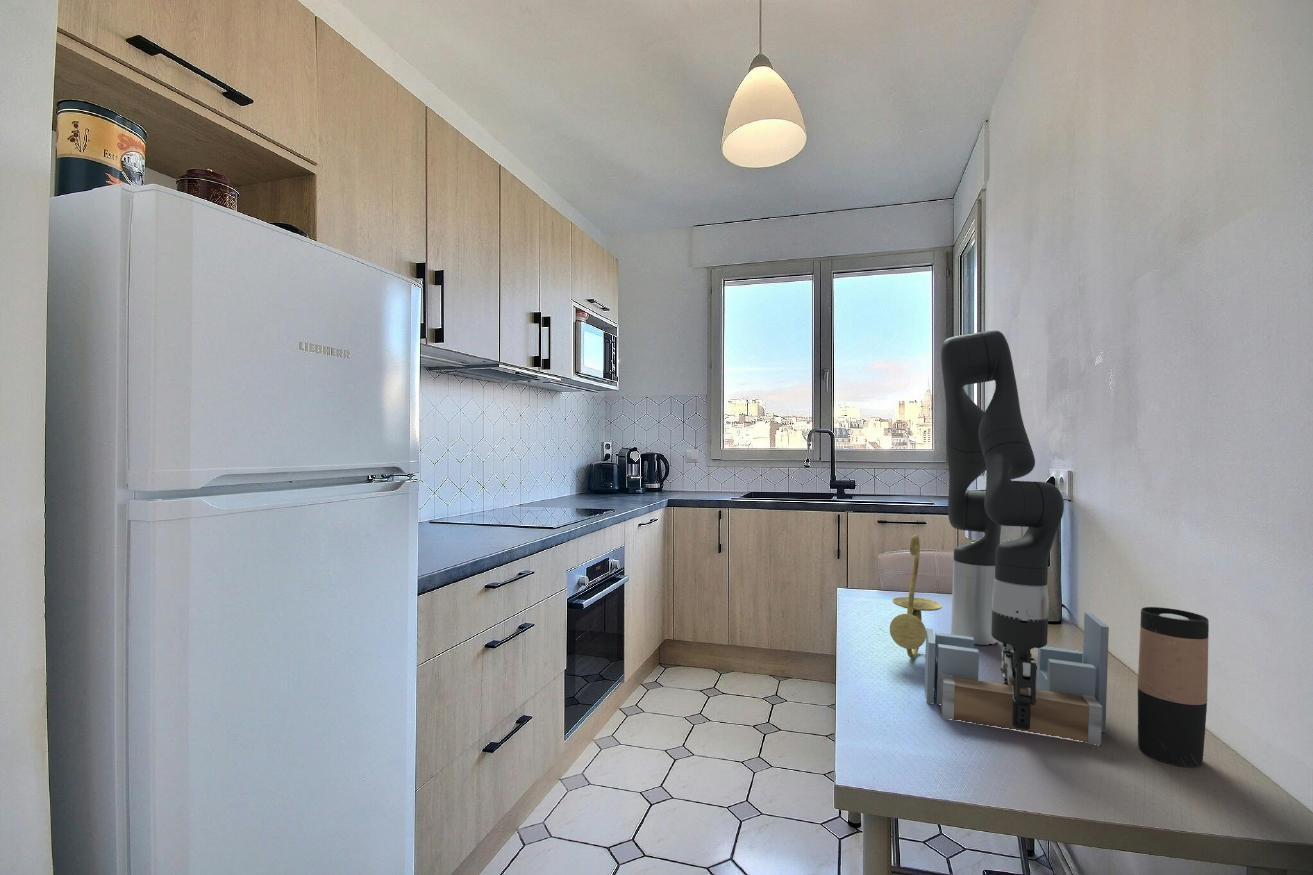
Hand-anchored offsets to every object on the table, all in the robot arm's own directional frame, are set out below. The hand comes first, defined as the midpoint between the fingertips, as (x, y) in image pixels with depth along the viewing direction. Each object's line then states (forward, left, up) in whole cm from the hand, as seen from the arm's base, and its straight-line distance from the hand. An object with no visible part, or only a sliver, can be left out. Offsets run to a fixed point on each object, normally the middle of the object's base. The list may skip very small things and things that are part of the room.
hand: (1016, 716), depth 97 cm
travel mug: (+1, +19, -2) cm, 19 cm away
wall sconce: (-27, -14, -2) cm, 31 cm away
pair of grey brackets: (-8, 0, -1) cm, 8 cm away
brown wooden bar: (0, 0, -1) cm, 1 cm away
